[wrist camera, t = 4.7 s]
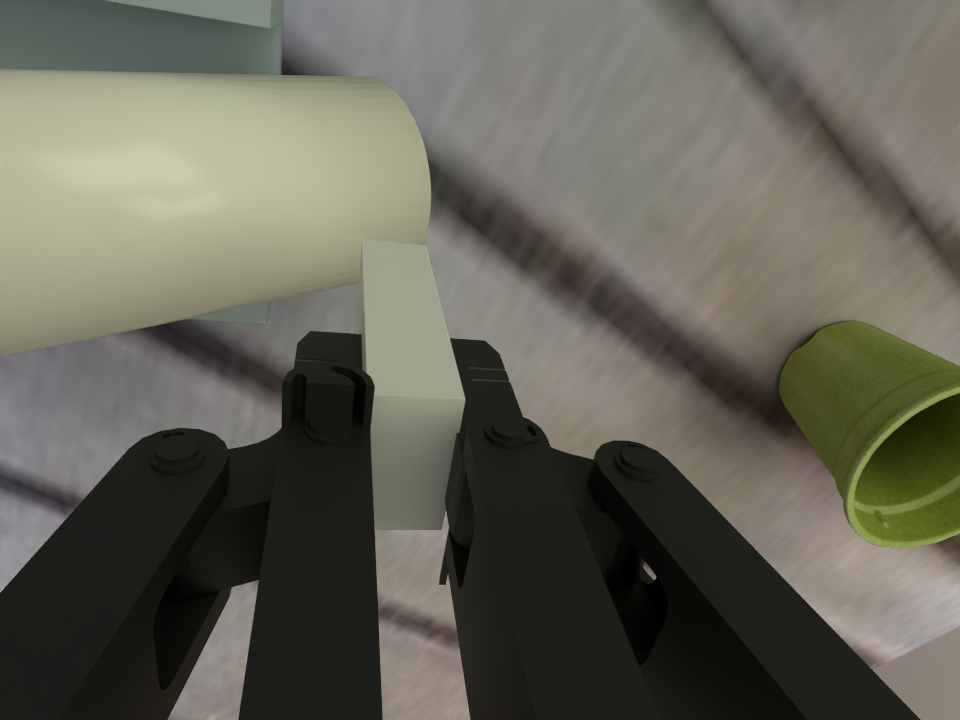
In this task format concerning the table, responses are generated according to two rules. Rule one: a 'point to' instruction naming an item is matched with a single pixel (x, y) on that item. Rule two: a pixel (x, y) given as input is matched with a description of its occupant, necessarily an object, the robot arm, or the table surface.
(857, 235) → the table surface
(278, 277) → the cream bottle
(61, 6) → the grey-green cradle
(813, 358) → the plant pot
